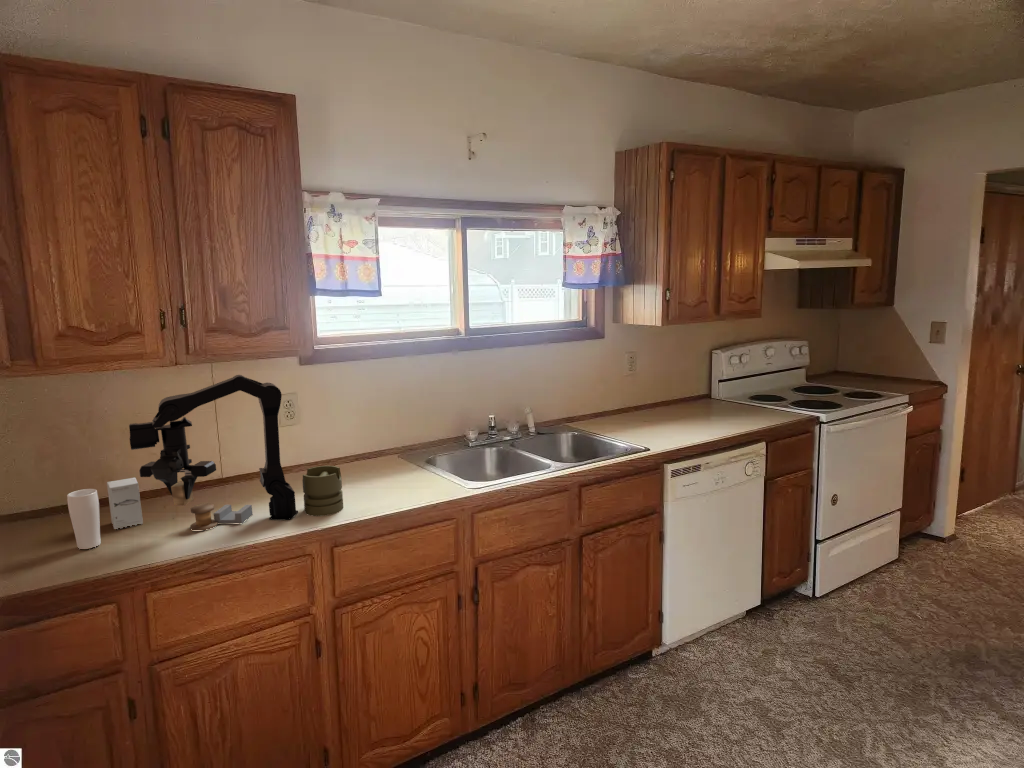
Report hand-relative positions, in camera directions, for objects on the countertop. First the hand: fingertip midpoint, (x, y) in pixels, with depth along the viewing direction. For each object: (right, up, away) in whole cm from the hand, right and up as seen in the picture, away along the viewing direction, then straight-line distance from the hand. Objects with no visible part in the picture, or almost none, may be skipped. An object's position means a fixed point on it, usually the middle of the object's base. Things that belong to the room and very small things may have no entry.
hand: (181, 499), depth 180 cm
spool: (+3, -9, +7) cm, 12 cm away
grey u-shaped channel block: (+9, -8, +12) cm, 17 cm away
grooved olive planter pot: (+34, -7, +19) cm, 39 cm away
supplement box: (-21, -9, +11) cm, 25 cm away
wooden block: (0, -1, +1) cm, 1 cm away
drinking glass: (-22, -12, -5) cm, 26 cm away
